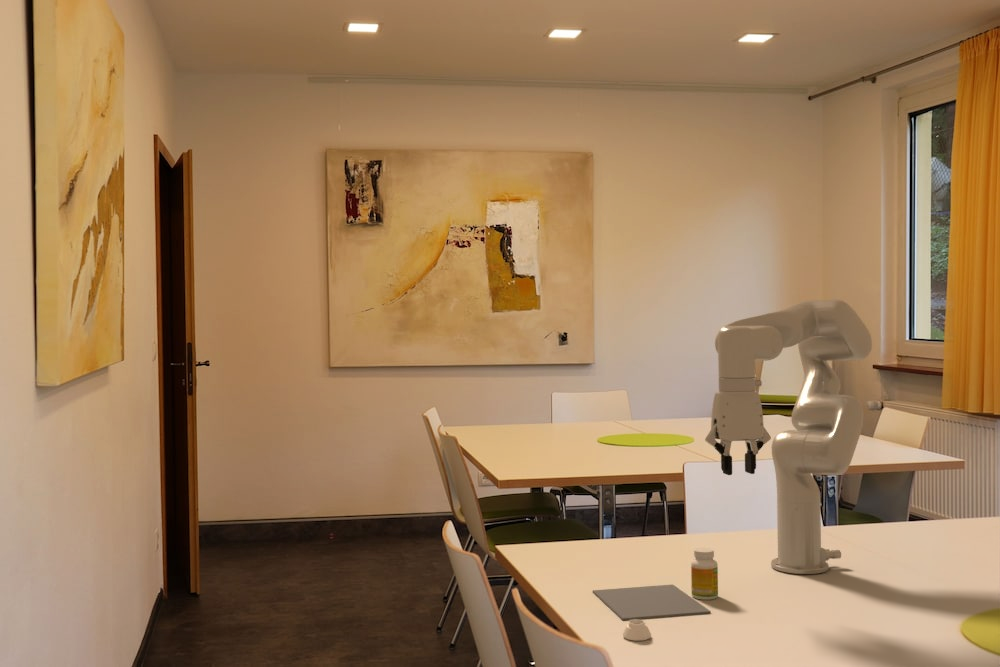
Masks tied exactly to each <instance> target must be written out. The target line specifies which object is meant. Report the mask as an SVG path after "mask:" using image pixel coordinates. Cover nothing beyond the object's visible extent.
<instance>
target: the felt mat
mask: <svg viewBox="0 0 1000 667" xmlns="http://www.w3.org/2000/svg"><path fill="white" fill-rule="evenodd" d="M592 593H593V594H594V595H595V597H597V598H598V599H599V600H600V601H601V602H602V603H603V604H605V606H607V608H609V609H610V610H611V611H612V612H613V613H614V614H615V616H617V617H618V618H619V619H620V620H621V621H630V620H634V619H638V620H643V619H644V620H645V619H655V618H656V619H657V618H658V619H659V618H667V617H668V618H669V617H680V616H682V617H683V616H694V615H706V614H707V615H709V614H712V612H711V610H710V609H708V608H707V607H706V606H704V605H703V604H702V603H700V602H698V600H696V599H695V598H694V597H692V596H690V595H689V594H687V593H686V592H684V591H683V590H681V589H680V588H678V586H676V585H674V584H663V585H648V586H635V587H634V586H633V587H622V588H608V589H607V588H605V589H593V590H592Z"/></svg>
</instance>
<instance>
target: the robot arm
mask: <svg viewBox="0 0 1000 667" xmlns="http://www.w3.org/2000/svg"><path fill="white" fill-rule="evenodd" d="M796 345H798V352H799V355H800V356H799V357H800V360H801V365H802V369H803V374H804V376H803V381H802V385H801V387H800V390H799V394H798V396H797V397H796V401H795V404H794V407H793V408H792V412H791V424H792V426H793V427H794V429H790V430H789V429H788V430H784V431H781V432H779V433H778V434H776V436H774V438H773V440H772V443H771V457H772V460H773V461H772V462H773V465H774V471H775V479H776V509H777V510H776V516H777V518H776V520H777V522H776V523H777V524H776V525H777V557H776V558H775V557H774V558H773V559H772V560H771V562H770V565H771V566H770V567H771V568H773V570H776V571H779V572H782V573H787V574H796V575H817V574H822V573H825V572H828V571H829V563H828V562H827V561H829V560H830V559H832V560H834V559H835V560H836V559H837V560H839V559H841V558H842V552H841V550H839V549H834V550H833V549H832V550H830V548H828V549H827V548H823V547H822V526H821V524H822V523H821V521H822V520H821V519H822V518H821V517H822V516H821V491H820V488H819V485H818V483H817V481H816V480H815V478H814V476H813V475H812V474H814V475H815V474H816V475H826V476H840V475H843V474H844V473H846V472H847V470H849V467H850V465H851V463H852V460H853V457H854V455H855V451H856V448H857V445H858V442H859V439H860V436H861V434H862V433H861V432H862V429H863V425H864V416H865V414H864V408H863V404H862V403H861V401H860V400H859V399H858V398H856V397H855V396H852V395H848V394H847V395H846V394H840V391H841V385H842V384H841V380H840V378H839V376H838V375H837V373H836V372H835V370H834V369H833V368H832V367H831V366H830V364H829V362H830V361H834V362H836V361H837V362H839V361H840V362H842V361H843V362H856V361H857V362H858V361H861V360H865V359H866V358H867V357H869V355H870V354H871V352H872V347H873V340H872V334H870V331H869V329H868V327H867V326H866V325H865V323H864V322H863V320H862V318H860V316H859V314H858V313H857V312H856V311H855V310H854V309H853V307H852V306H850V304H848V303H847V302H845V301H843V300H842V299H813V300H811V299H810V300H803V301H799V302H796V303H794V304H792V305H789V306H786V307H784V308H782V309H780V310H777V311H772V312H768V313H764V314H761V315H756V316H752V317H751V316H750V317H746V318H742V319H739V320H735V321H732V322H730V323H728V324H726V325H724V326H722V327H721V328H720V329H719V330H718V332H717V333H716V336H715V341H714V346H715V347H714V348H715V351H716V353H717V355H718V356H717V357H718V358H717V359H718V360H717V361H718V363H717V364H718V392H714V397H713V401H712V402H713V403H712V409H711V419H710V420H711V423H710V431H709V432H708V433H707V436H706V437H705V440H704V441H705V442H706V443H708V445H710V446H711V447H713V448H714V449H715V450H716V451H717V452H718V454H719V455H720V463H721V464H720V465H721V466H720V468H721V471H722V473H723V474H724V475H727V476H732V475H733V457H732V455H731V454H730V452H731V447H732V442H742V441H743V442H744V444H745V447H746V452H745V454H744V471H745V473H748V474H751V475H755V471H756V469H757V455H758V454H759V451H760V450H761V449H762V448H763V446H764V445H766V444H767V443H768V442H769V441H770V440H771V439H772V438H771V435H770V434H769V432H768V431H767V429H766V428H765V426H764V415H763V414H764V413H763V407H762V401H761V397H760V393H759V392H758V391H757V389H758V387H762V380H761V379H757V376H756V367H757V366H756V362H761V361H762V362H764V361H765V362H766V361H771V360H774V359H776V358H778V357H779V356H780V355H781V353H782V351H783V350H784V349H786V348H791V347H794V346H796ZM828 361H829V362H828ZM717 440H720V442H719V441H717Z"/></svg>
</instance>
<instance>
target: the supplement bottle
mask: <svg viewBox="0 0 1000 667" xmlns="http://www.w3.org/2000/svg"><path fill="white" fill-rule="evenodd" d="M693 553H694V554H693V556H694V559H692V561H691V562H690V568H691V570H690V572H691V573H690V574H691V576H690V577H691V578H690V579H691V581H690V582H691V597H692V598H693V599H697V600H702V601H703V600H704V601H709V600H715V599H717V598H718V597H719V578H718V576H719V574H718V573H719V571H718V570H719V569H718V562H717V560H715V559H714V557H715V550H714V549H712V548H709V547H707V548H706V547H698V548H694V549H693Z"/></svg>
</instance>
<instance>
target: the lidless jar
mask: <svg viewBox="0 0 1000 667" xmlns="http://www.w3.org/2000/svg"><path fill="white" fill-rule="evenodd" d="M622 637H623V638H624V639H626V640H628V641H632V642H643V641H647V640H650V639H651V638H652V633H651V631H650V629H649V627H648V626H647V624H646V621H645V620H643V619H633V620H627V624H626V625H625V628H624V630H623V632H622Z"/></svg>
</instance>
